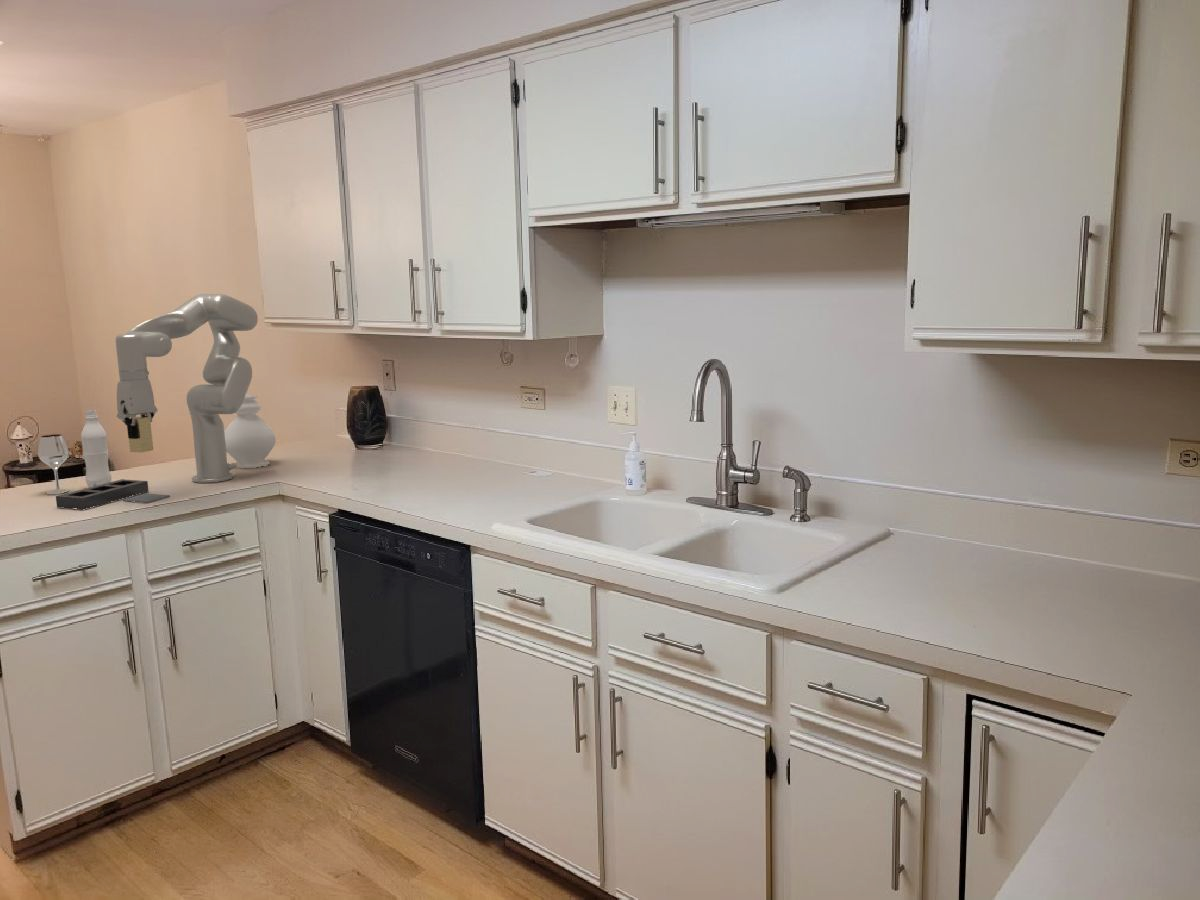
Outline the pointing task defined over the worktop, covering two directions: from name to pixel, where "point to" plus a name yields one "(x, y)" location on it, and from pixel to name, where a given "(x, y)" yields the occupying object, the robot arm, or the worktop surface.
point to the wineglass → (53, 455)
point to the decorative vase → (249, 436)
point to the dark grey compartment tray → (101, 494)
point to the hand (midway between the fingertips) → (140, 436)
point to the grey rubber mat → (146, 497)
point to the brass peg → (142, 436)
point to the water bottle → (95, 451)
